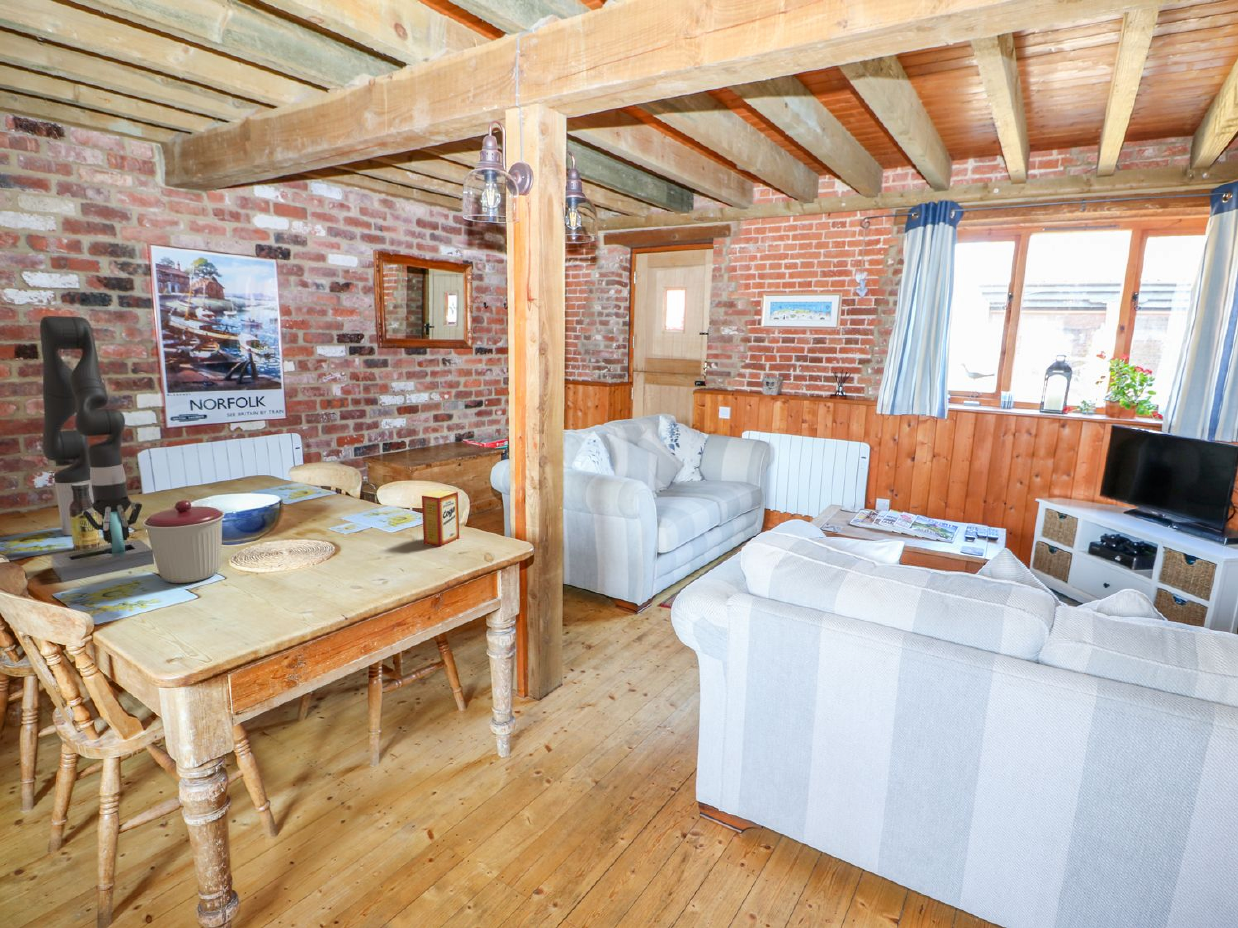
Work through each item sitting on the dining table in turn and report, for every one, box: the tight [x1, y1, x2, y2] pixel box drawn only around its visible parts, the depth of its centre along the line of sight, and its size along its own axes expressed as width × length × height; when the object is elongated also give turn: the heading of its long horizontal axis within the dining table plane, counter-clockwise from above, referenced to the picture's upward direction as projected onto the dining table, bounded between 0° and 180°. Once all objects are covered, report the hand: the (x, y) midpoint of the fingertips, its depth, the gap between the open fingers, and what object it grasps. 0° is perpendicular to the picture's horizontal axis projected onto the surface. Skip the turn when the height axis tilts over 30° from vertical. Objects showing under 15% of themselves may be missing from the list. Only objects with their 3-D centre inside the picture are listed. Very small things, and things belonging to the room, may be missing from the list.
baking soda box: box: [421, 489, 460, 548], centre depth 205 cm, size 10×6×16 cm
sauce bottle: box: [69, 483, 101, 551], centre depth 192 cm, size 6×6×20 cm
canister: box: [141, 500, 226, 584], centre depth 171 cm, size 18×18×21 cm
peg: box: [109, 511, 125, 553], centre depth 181 cm, size 5×5×15 cm
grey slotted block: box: [50, 538, 155, 583], centre depth 179 cm, size 14×20×4 cm
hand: (117, 540), depth 181 cm, fingers closed on peg, 3 cm apart
